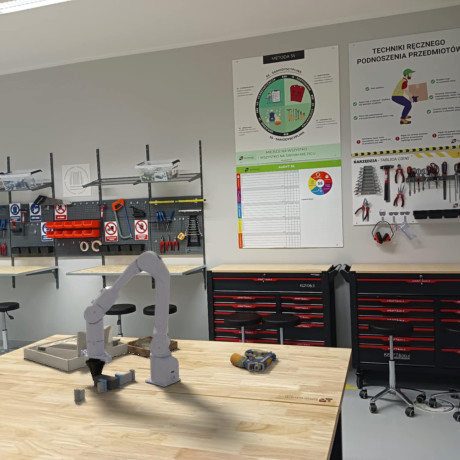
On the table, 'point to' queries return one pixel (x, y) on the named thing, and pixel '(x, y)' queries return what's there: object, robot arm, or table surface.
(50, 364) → the container tray
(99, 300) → the robot arm
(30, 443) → the table surface
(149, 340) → the rock sample
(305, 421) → the table surface
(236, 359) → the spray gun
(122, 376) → the blue capped pillar
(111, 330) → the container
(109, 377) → the charcoal brick
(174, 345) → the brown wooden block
